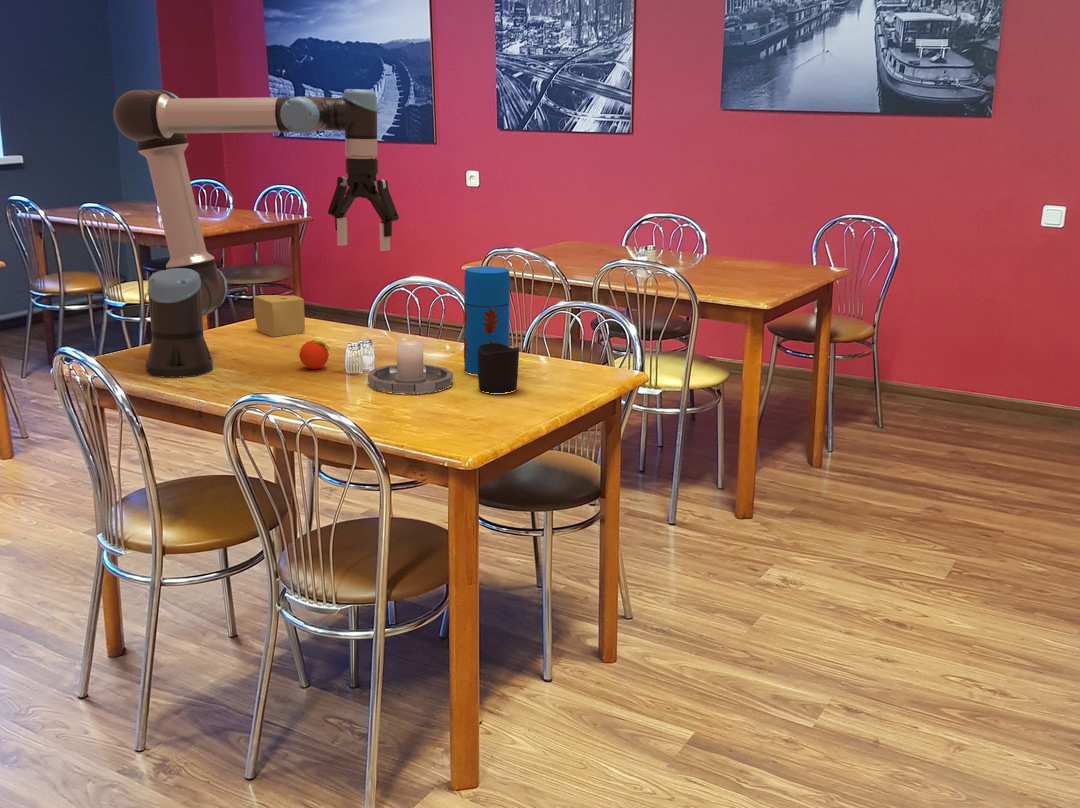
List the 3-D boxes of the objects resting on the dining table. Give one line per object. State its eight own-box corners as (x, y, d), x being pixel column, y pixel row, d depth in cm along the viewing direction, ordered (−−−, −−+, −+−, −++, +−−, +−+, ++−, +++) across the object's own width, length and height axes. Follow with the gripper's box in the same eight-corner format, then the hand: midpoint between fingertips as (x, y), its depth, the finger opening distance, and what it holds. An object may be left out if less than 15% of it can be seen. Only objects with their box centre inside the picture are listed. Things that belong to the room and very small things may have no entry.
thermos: (468, 378, 261) (469, 273, 254) (459, 367, 271) (460, 266, 264) (513, 376, 264) (514, 272, 257) (502, 365, 274) (504, 265, 267)
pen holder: (515, 384, 257) (516, 342, 254) (520, 395, 248) (521, 352, 245) (475, 385, 255) (475, 343, 252) (479, 396, 246) (479, 352, 244)
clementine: (337, 367, 269) (337, 338, 267) (325, 373, 262) (324, 344, 260) (308, 364, 271) (307, 336, 269) (294, 370, 264) (293, 341, 262)
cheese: (288, 327, 313) (287, 292, 310) (307, 333, 305) (305, 298, 302) (254, 331, 306) (252, 295, 303) (272, 338, 298) (270, 301, 295)
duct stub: (432, 379, 256) (432, 342, 253) (412, 386, 250) (412, 347, 247) (408, 375, 259) (408, 337, 257) (388, 381, 254) (387, 343, 251)
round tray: (416, 399, 242) (416, 388, 242) (352, 385, 252) (351, 375, 252) (468, 382, 258) (468, 372, 257) (405, 369, 268) (405, 360, 267)
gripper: (413, 159, 255) (413, 251, 261) (333, 154, 268) (336, 241, 274) (391, 160, 249) (393, 254, 255) (311, 155, 262) (314, 244, 268)
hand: (363, 247), depth 265 cm, fingers open, 13 cm apart
